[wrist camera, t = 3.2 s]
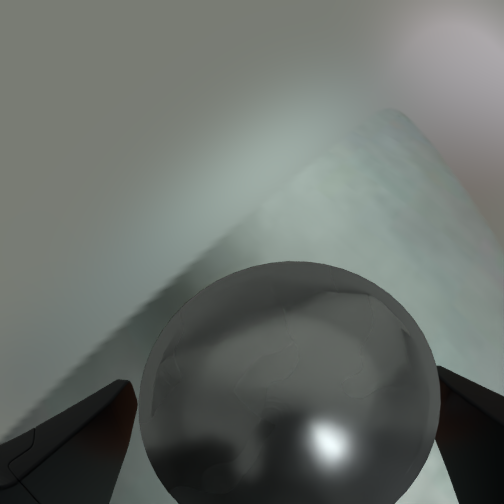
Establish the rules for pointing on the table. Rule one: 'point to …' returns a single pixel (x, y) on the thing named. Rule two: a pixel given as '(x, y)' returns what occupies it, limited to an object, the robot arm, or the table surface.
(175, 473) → the grey ribbed cylinder
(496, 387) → the table surface
